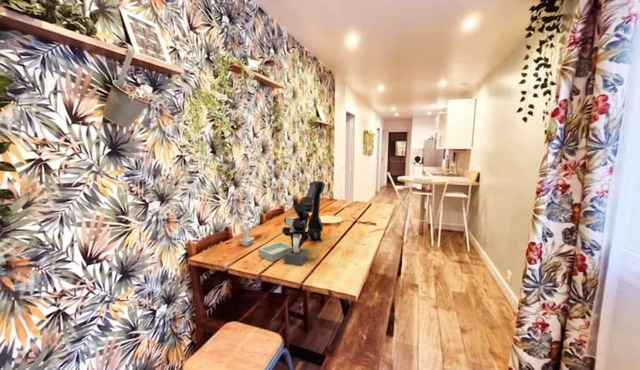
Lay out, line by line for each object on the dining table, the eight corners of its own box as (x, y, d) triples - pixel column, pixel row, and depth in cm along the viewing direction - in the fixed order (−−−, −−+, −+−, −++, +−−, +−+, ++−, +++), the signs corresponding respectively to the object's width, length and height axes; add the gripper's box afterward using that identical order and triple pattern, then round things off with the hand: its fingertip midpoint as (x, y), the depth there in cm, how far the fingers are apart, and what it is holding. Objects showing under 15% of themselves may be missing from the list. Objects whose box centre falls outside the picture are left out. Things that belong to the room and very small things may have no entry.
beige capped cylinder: (298, 256, 142) (298, 233, 141) (300, 258, 139) (300, 235, 137) (292, 257, 141) (292, 234, 139) (294, 259, 138) (294, 236, 136)
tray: (280, 247, 158) (280, 241, 158) (293, 252, 150) (293, 246, 150) (258, 255, 146) (258, 248, 146) (272, 261, 139) (271, 254, 138)
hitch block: (291, 255, 146) (291, 247, 146) (308, 258, 144) (308, 249, 143) (284, 263, 137) (284, 254, 136) (301, 265, 134) (301, 256, 133)
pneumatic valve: (295, 234, 183) (295, 217, 181) (283, 231, 190) (283, 215, 188) (300, 232, 188) (300, 216, 186) (289, 229, 194) (288, 213, 193)
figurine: (256, 242, 166) (255, 220, 164) (246, 247, 157) (246, 224, 155) (247, 241, 169) (246, 218, 167) (237, 246, 160) (236, 222, 158)
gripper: (283, 212, 143) (274, 238, 134) (315, 215, 138) (308, 242, 129) (289, 222, 152) (281, 247, 143) (319, 225, 146) (313, 251, 137)
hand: (295, 247), depth 138 cm, fingers closed on beige capped cylinder, 4 cm apart
